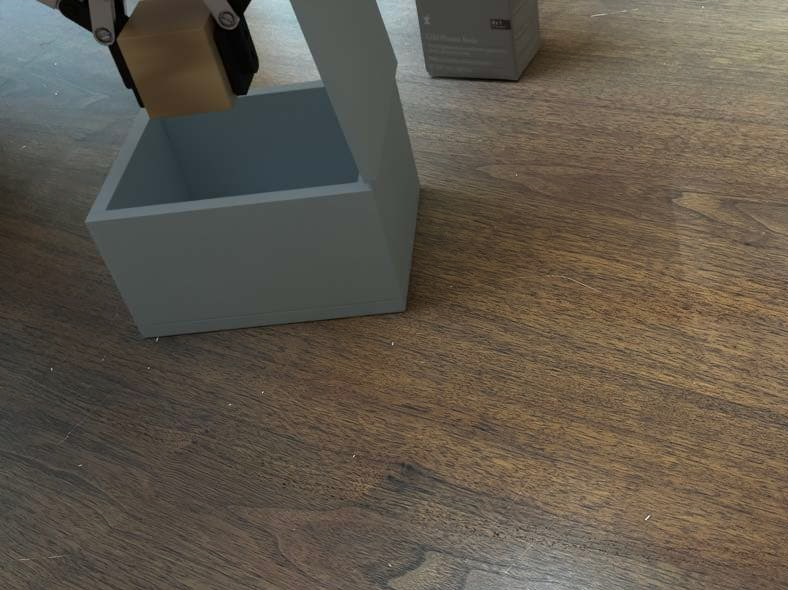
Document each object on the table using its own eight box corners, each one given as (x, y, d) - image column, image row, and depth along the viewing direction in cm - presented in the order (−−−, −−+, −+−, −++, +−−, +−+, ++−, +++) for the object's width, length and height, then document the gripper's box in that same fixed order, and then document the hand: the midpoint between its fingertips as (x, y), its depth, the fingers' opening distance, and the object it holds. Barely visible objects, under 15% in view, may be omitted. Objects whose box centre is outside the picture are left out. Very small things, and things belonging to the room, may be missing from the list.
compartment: (142, 338, 69) (84, 222, 63) (191, 212, 79) (144, 100, 73) (405, 311, 68) (372, 189, 61) (421, 186, 78) (393, 70, 71)
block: (149, 120, 63) (115, 39, 60) (169, 78, 67) (138, 0, 63) (233, 110, 63) (203, 27, 59) (248, 68, 66) (221, -12, 63)
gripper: (254, -301, 54) (346, 43, 67) (-70, -250, 55) (80, 77, 68) (224, -261, 49) (330, 105, 61) (-134, -206, 50) (42, 140, 63)
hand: (197, 87), depth 64 cm, fingers closed on block, 5 cm apart
